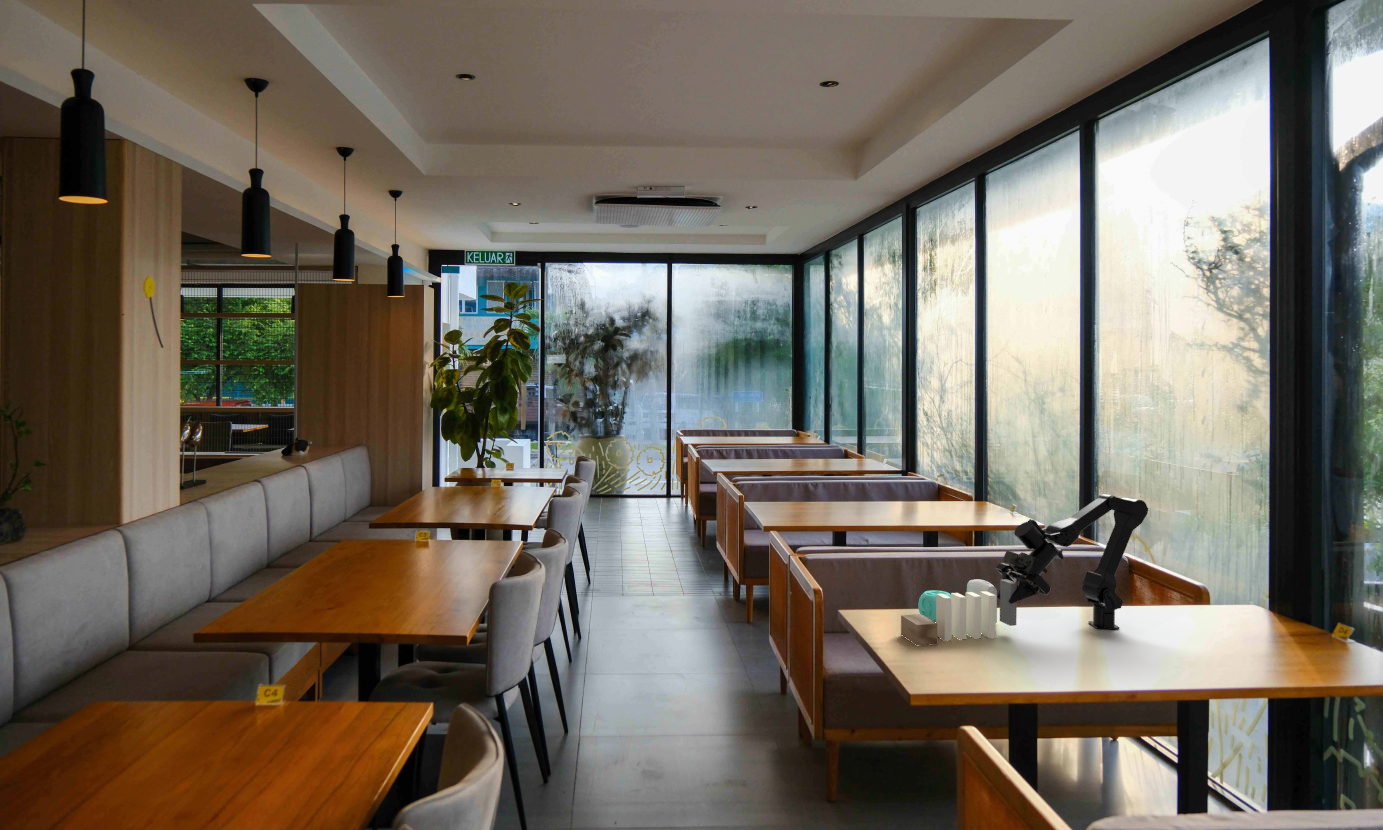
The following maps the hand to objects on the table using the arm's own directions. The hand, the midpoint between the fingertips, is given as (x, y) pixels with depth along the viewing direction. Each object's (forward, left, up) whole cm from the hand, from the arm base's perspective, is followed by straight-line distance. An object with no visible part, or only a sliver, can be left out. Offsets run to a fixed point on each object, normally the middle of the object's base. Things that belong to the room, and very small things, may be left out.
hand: (1003, 600), depth 238 cm
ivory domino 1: (+5, -18, -10) cm, 21 cm away
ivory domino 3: (+2, -9, -10) cm, 14 cm away
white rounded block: (-14, -2, -10) cm, 17 cm away
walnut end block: (+7, -25, -10) cm, 28 cm away
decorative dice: (-15, -15, -10) cm, 24 cm away
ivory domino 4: (+1, -5, -10) cm, 11 cm away
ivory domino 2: (+4, -14, -10) cm, 17 cm away
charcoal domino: (0, +1, -7) cm, 7 cm away
